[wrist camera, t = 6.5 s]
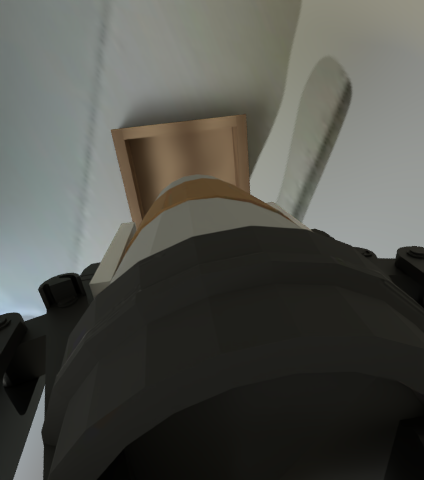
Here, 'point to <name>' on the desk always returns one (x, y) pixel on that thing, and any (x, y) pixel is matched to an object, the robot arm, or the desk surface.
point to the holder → (180, 156)
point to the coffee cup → (237, 352)
